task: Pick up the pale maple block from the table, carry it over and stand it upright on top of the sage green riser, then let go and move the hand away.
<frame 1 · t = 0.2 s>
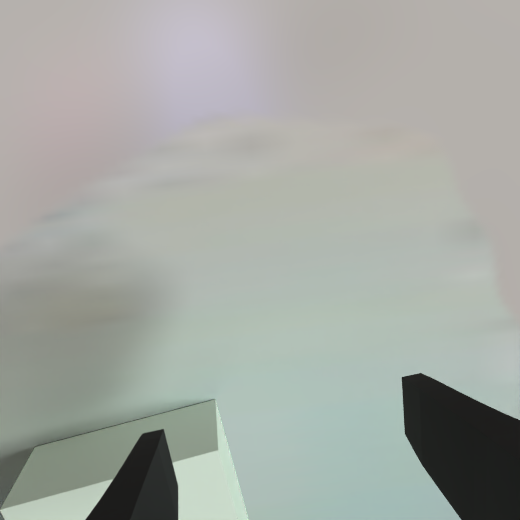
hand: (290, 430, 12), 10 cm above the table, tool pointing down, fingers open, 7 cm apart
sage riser: (151, 492, 24), on the table
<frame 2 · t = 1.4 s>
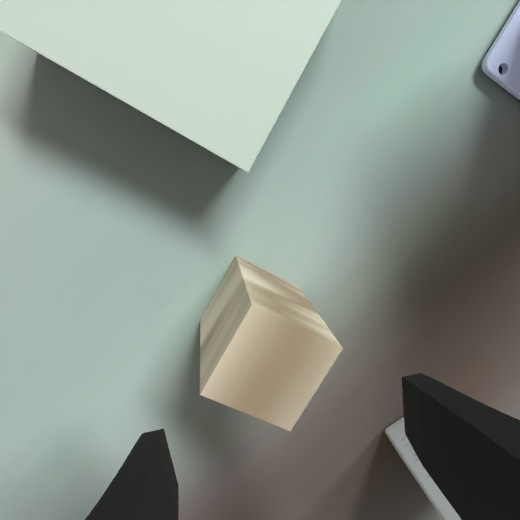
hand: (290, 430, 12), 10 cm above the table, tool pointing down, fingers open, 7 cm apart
skincare box: (428, 437, 26), on the table
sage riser: (194, 10, 18), on the table
maple block: (250, 303, 22), on the table
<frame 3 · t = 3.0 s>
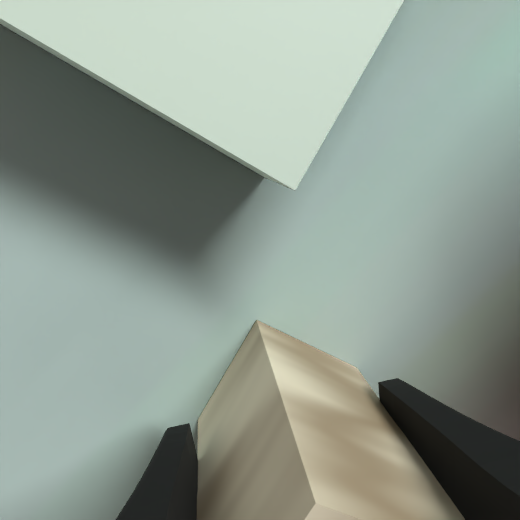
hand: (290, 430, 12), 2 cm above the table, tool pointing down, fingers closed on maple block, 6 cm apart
maple block: (278, 393, 14), on the table, touching gripper
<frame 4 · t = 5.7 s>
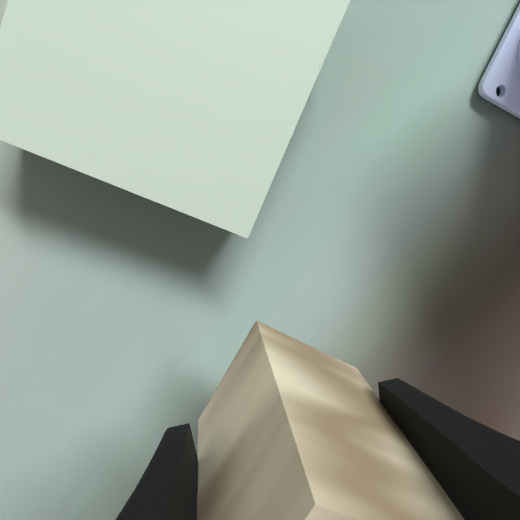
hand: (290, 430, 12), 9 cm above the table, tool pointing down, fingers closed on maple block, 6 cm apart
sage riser: (176, 72, 17), on the table
maple block: (278, 393, 14), point 7 cm above the table, touching gripper
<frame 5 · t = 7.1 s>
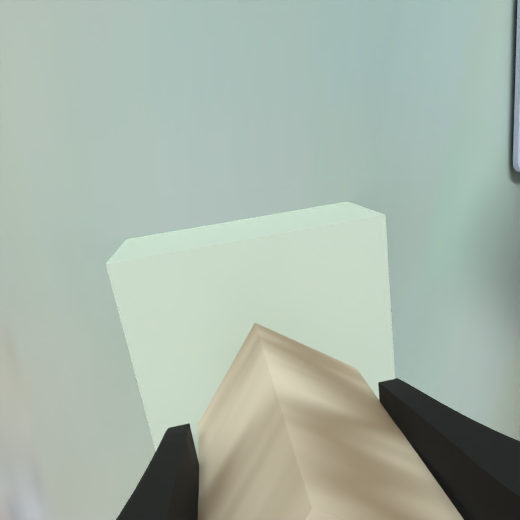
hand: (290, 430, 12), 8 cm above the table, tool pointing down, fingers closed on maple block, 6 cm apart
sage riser: (256, 321, 19), on the table
maple block: (278, 395, 14), point 6 cm above the table, touching gripper
when the fingers open (7 cm above the table, at t = 8.3 s): maple block stays where it is, resting on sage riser.
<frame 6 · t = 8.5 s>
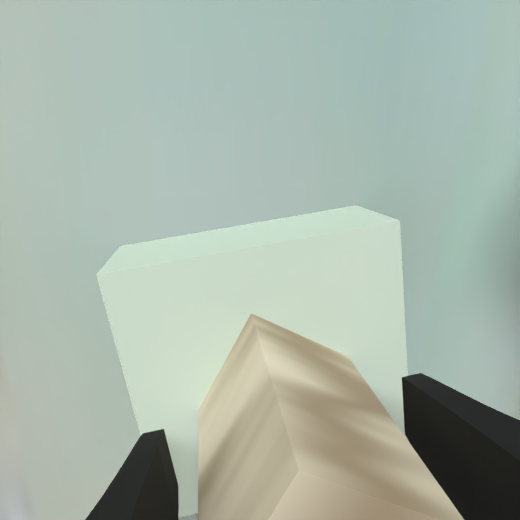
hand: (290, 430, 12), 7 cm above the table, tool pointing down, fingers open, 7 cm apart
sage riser: (259, 332, 18), on the table
maple block: (274, 382, 14), point 4 cm above the table, touching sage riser
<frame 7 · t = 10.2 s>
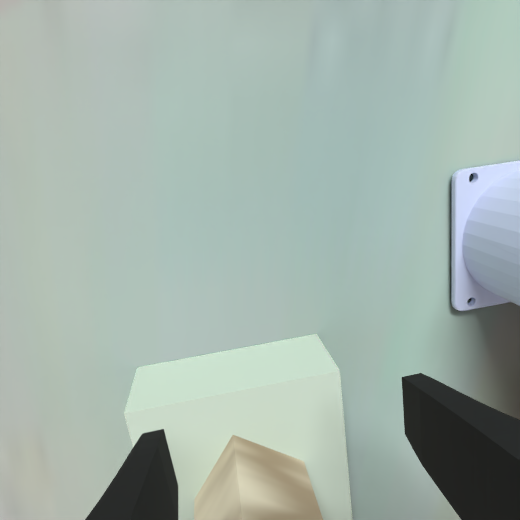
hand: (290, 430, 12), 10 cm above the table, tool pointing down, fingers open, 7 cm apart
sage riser: (241, 425, 24), on the table
maple block: (249, 480, 20), point 4 cm above the table, touching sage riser
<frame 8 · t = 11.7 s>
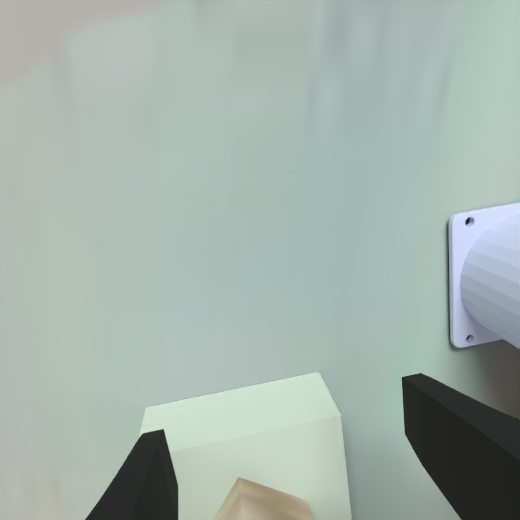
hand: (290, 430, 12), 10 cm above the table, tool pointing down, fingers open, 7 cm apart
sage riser: (247, 460, 24), on the table
maple block: (255, 518, 21), point 4 cm above the table, touching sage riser
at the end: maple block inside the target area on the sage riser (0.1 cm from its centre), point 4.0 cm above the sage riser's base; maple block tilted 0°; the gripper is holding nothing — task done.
